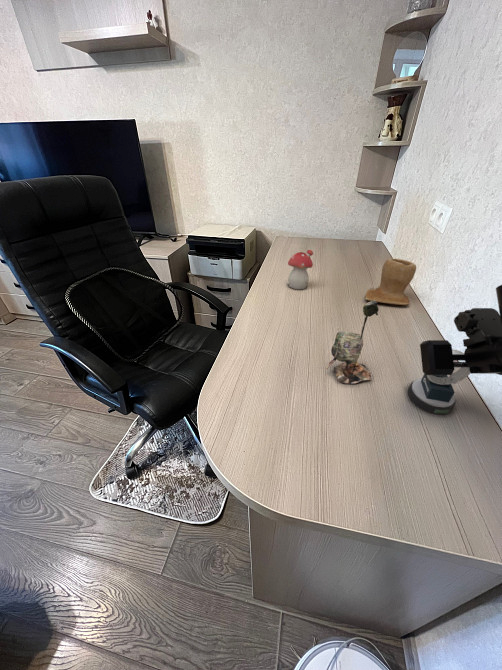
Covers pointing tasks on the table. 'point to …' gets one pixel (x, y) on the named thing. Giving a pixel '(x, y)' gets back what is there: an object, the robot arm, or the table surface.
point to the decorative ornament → (300, 269)
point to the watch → (443, 383)
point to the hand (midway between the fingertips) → (444, 361)
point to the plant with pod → (351, 351)
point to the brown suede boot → (393, 282)
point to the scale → (428, 400)
